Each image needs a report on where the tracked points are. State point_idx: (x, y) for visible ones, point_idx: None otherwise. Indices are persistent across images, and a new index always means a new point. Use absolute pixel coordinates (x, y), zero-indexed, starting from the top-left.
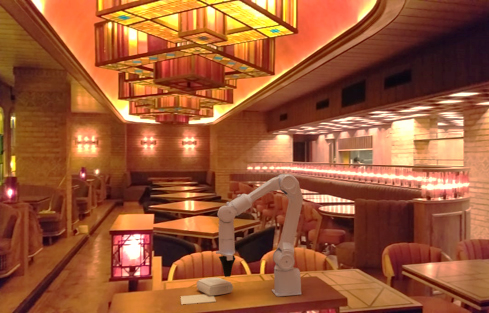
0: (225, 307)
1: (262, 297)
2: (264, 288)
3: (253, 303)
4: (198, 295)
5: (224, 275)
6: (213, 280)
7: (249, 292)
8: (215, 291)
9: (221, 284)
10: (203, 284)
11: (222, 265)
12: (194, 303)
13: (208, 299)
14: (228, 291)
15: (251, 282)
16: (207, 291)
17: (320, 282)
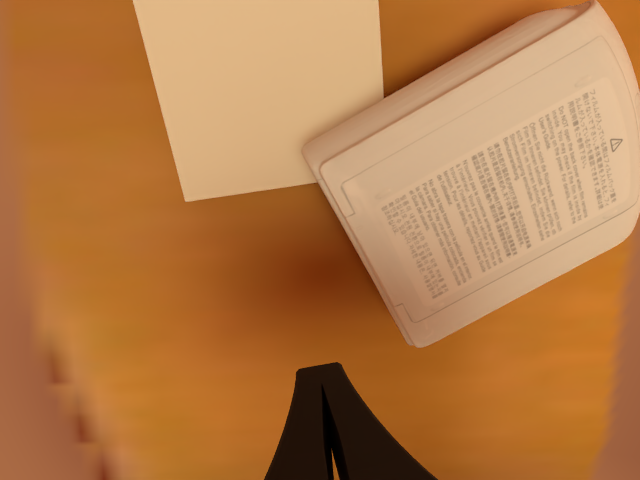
0: (54, 273)
1: (268, 467)
2: (439, 471)
3: (151, 429)
4: (360, 38)
5: (300, 376)
6: (503, 197)
7: (381, 403)
8: (330, 204)
9: (375, 273)
10: (446, 87)
11: (314, 476)
12: (136, 4)
13: (232, 138)
14: (379, 292)
15: (585, 407)
16: (328, 131)
17: None
